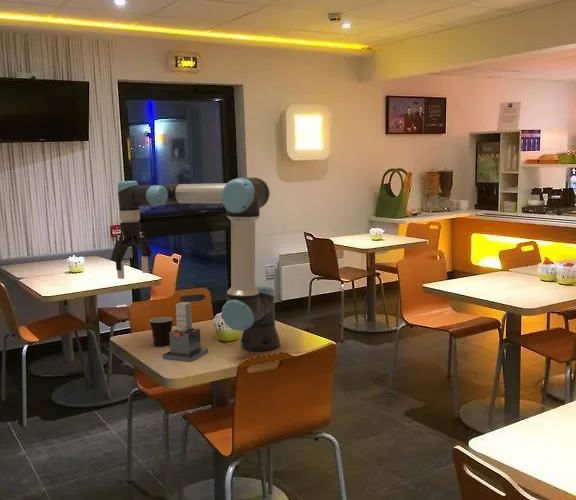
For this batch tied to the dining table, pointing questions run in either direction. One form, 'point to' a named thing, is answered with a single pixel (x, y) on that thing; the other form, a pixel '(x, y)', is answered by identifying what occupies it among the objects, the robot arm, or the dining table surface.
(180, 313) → the column
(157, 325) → the coffee mug
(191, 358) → the stand base
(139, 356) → the dining table surface
